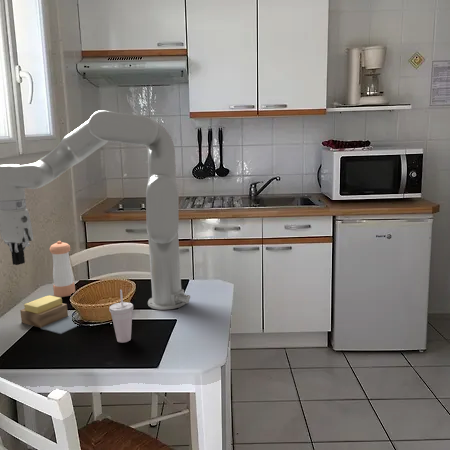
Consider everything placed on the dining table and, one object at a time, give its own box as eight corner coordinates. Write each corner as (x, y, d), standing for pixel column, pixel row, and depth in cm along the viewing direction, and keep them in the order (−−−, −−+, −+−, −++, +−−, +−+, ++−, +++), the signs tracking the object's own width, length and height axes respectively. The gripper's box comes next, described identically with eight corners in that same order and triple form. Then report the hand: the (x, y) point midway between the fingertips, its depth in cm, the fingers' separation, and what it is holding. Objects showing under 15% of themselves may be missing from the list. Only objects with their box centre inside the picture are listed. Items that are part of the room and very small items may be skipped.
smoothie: (139, 335, 137) (136, 287, 134) (129, 345, 131) (125, 295, 128) (119, 334, 139) (115, 286, 136) (107, 343, 133) (103, 293, 130)
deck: (68, 316, 154) (66, 304, 153) (41, 327, 145) (39, 315, 145) (48, 311, 158) (47, 299, 158) (21, 322, 150) (20, 310, 149)
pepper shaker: (54, 291, 179) (49, 239, 175) (75, 289, 180) (70, 238, 177) (53, 298, 172) (47, 244, 168) (75, 295, 173) (69, 242, 170)
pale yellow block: (49, 301, 156) (48, 295, 156) (62, 304, 153) (61, 297, 153) (24, 310, 149) (24, 304, 148) (37, 313, 146) (37, 307, 145)
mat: (89, 320, 149) (89, 319, 149) (60, 334, 140) (60, 333, 140) (70, 316, 154) (69, 315, 154) (40, 328, 145) (40, 327, 145)
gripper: (39, 205, 149) (44, 263, 153) (8, 202, 157) (14, 258, 160) (17, 208, 143) (23, 270, 146) (-14, 205, 151) (-7, 263, 154)
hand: (18, 263), depth 153 cm, fingers closed
